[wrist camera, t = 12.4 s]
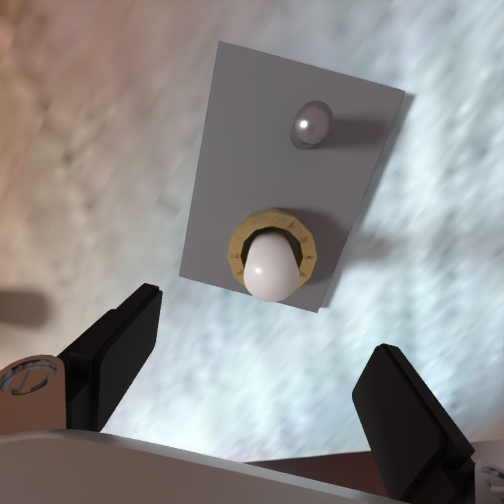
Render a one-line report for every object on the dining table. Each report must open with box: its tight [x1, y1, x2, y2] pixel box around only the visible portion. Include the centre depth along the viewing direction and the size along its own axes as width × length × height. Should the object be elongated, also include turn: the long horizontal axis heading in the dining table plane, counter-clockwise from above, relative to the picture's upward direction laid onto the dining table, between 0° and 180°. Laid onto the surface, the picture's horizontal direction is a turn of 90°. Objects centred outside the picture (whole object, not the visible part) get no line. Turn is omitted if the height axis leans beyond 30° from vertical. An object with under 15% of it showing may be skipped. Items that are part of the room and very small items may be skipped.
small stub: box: [290, 100, 334, 150], centre depth 19 cm, size 3×3×5 cm
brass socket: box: [227, 207, 317, 290], centre depth 23 cm, size 8×8×3 cm
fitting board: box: [179, 41, 405, 313], centre depth 24 cm, size 22×16×1 cm
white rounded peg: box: [244, 228, 300, 302], centre depth 21 cm, size 4×4×8 cm
